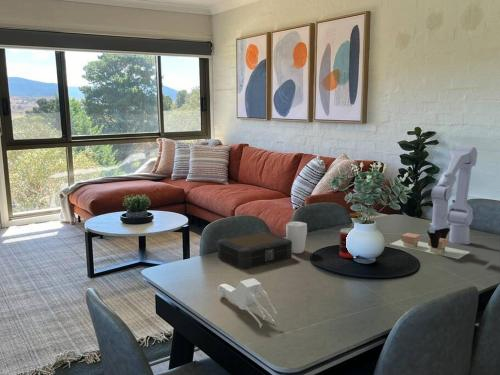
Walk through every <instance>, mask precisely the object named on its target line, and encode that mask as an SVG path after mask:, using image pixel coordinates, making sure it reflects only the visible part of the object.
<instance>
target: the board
mask: <svg viewBox="0 0 500 375" xmlns="http://www.w3.org/2000/svg"><path fill="white" fill-rule="evenodd" d="M403 244H404V242H403V241H401V239H398V240H396V241H394V242H391V243H390V245H391V246H392V245H394V246H397V247H401V248H406V249H411V250H416V251H420V252H424V253H430V254H434V255H437V256H444V257H447V258H453V259H455V260H456V259H457V260H459V259H461V258H462V257H465V256H466V255H468V254H470V253H471V251H467V250H464V249H458V248H454V247H448V246H446V247H445V252H443V253H441V254H438V253H433V252H430V246H428V242H424V241H421V240H420V241H419V242H418V246H416V247H414V248H410V247H406V246H403Z"/></svg>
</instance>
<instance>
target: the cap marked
mask: <svg viewBox="0 0 500 375" xmlns="http://www.w3.org/2000/svg"><path fill="white" fill-rule="evenodd" d="M400 240H401V241H403V242H408V243H413V244H415V243H417V242H419V241H420V242H421V234H417V233H413V232H412V233H411V232H406V233H403V234H402V235H401V239H400Z"/></svg>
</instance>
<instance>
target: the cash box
mask: <svg viewBox="0 0 500 375" xmlns="http://www.w3.org/2000/svg"><path fill="white" fill-rule="evenodd" d="M292 256H293V253H292V241H291V240H288V239H287V238H285V237H283V236H279V235H276V234H273V233H271V232H267V231H257V232H253V233H247V234H243V235H237V236H236V235H235V236H231V237H227V238H222V239H219V240H217V257H218V258H217V259H221V260H222V261H224V262H227V263H228V264H230V265H233V266H234V267H235V266H236V267H237V268H239V269H242V270H248V269H253V268H257V267H260V266H264V265H269V264H273V263H277V262H281V261H284V260H290V259H291V258H292Z"/></svg>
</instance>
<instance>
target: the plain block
mask: <svg viewBox="0 0 500 375" xmlns="http://www.w3.org/2000/svg"><path fill="white" fill-rule="evenodd" d="M430 252H433V253H438V254H441V253H443V252H445V247H444V248H432V246H430ZM433 253H432V254H433ZM438 254H437V255H438Z"/></svg>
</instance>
